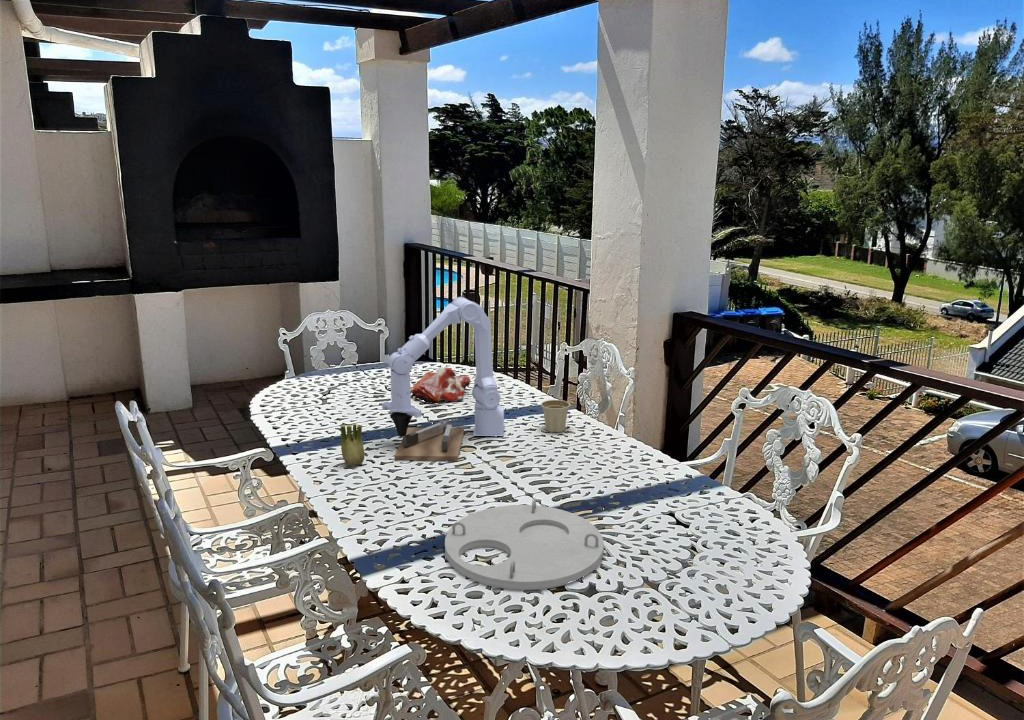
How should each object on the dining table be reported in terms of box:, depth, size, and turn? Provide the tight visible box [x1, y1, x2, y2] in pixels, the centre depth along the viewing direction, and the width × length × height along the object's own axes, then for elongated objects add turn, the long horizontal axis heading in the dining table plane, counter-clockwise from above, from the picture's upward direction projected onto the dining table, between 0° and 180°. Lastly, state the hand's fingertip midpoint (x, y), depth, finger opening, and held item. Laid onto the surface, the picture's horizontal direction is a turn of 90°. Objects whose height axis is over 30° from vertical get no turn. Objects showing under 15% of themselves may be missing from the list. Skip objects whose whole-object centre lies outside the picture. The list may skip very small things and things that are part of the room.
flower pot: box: [540, 399, 571, 433], centre depth 234 cm, size 9×9×9 cm
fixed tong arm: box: [442, 424, 453, 452], centre depth 218 cm, size 15×2×3 cm, turn 179°
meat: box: [410, 366, 471, 403], centre depth 269 cm, size 21×21×10 cm
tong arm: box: [402, 419, 450, 448], centre depth 221 cm, size 19×3×3 cm, turn 144°
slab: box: [444, 498, 605, 591], centre depth 160 cm, size 35×35×5 cm
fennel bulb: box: [339, 423, 365, 467], centre depth 204 cm, size 6×5×12 cm
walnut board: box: [394, 427, 465, 462], centre depth 220 cm, size 18×24×2 cm
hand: (402, 435), depth 220 cm, fingers closed
